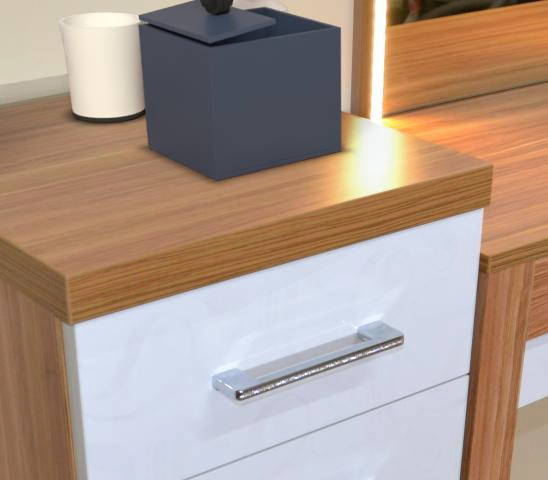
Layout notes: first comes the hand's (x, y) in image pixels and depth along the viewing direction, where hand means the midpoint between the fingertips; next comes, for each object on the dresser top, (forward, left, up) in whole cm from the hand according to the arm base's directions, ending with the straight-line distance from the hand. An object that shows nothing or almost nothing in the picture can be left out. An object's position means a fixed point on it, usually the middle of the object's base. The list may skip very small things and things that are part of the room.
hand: (217, 12), depth 110 cm
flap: (-1, 0, -1) cm, 2 cm away
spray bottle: (+13, +12, -14) cm, 23 cm away
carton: (+2, 0, -14) cm, 14 cm away
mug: (-1, +20, -14) cm, 25 cm away
